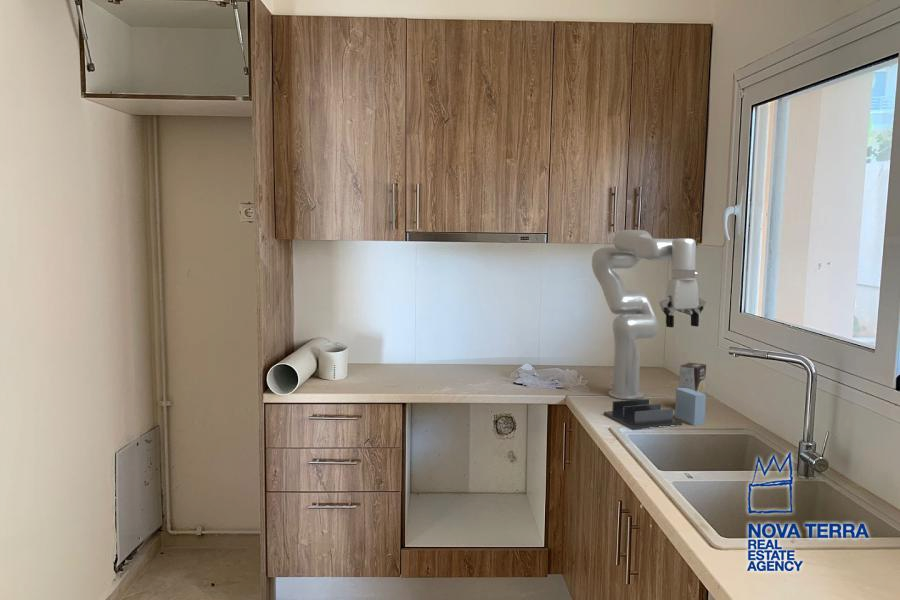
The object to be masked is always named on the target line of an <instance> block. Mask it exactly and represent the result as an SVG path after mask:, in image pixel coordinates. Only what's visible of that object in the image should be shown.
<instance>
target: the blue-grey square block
mask: <svg viewBox="0 0 900 600" xmlns="http://www.w3.org/2000/svg"><path fill="white" fill-rule="evenodd" d="M706 401H707V394H702V393H700V392H697V391H694V390H691V389H688V388H679V387H678V388H675V408H674V418H675V417H676V419H678V418H679V419H678V420H680V419H681V420H680V421H682V420H683V422H684V423H688V424H690V425H692V426H703V425H705V422H706V420H705V419H706V418H705V417H706V404H707V403H706Z"/></svg>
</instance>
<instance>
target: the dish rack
mask: <svg viewBox="0 0 900 600" xmlns="http://www.w3.org/2000/svg"><path fill="white" fill-rule="evenodd" d="M611 405H612V408H611V409H612V410H611V411H603V415H604V416H605V417H608V418H610V419H612V420H613V421H616V422H617V423H619V424H621V425H622V426H625V427H627V428H629V429H631V430H636V431H637V430H643V429H642V428H648V429H650V428H649V427H659V426H671V425H675V426H674V427H677V426H676V425H683V422H682V421H681V420H677V419H675V418H674V408H665V409H662V408H661V407H662V406H661V405H662V404H661V403H651V404H650V398H640V399H625V400H615V401H613V400H612V404H611ZM671 427H672V426H671ZM659 428H660V427H659Z"/></svg>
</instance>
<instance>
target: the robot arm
mask: <svg viewBox="0 0 900 600" xmlns="http://www.w3.org/2000/svg"><path fill="white" fill-rule="evenodd" d="M612 244H613V246H614V247H613V246H609V247H608V246H607V247H600V248H598V249H596V250H595V251H594V252H593V254H592V256H591V257H592V258H591V267H592V269H591V270H592V272H593V274H594V277H595V278H596V280H597V282H598V283H599V285H600V287H601V290H602V292H603V296H604V298H605V301H606V304H607V306H608V308H609V310H610V312H611V313H612V314H614V315H618V316H616V317H615V319H613V322H612V331H613V332H612V333H613V341H614V342H613V343H614V345H613V346H614V357H613V380H612V382H610V384H609V385H610V386H611V387H612V389H611V390H608V395H609V396H610V397H611V398H615V399H619V400H639V399H643V396H644V395H643V392H641V391H640V389H639V388H640V370H641V369H640V365H641V349H640V346H639V344H638V343H637V341H636V340H639V339H642V340H643V339H651V338H655V336H657V335H658V332H659V321H658V317H657V316H656V313H655V310H654V307H653V306H652V303H651V301H650V298H649V297H648V295H647V294H646V293H645V292H643V291H642V290H637V289H627V288H626V285H625V284H624V280H623V279H622V278H621V276H620V275H619V274H618V273H617V272H615V271H614V270H613V269H615V270H616V269H617V270H619V269H623V270H624V269H632V268H634V267H635V266H636V265H637V264H638V263H639V262H640V261H641V260H642V259H643V260H646V261H647V260H648V261H652V262H653V261H654V262H655V261H667V262H668V261H669V262H670V261H671V271H670V273H671V274H670V275H671V276H670V277H671V278H670V279H669V280H668V282H667V287H666V295H665V298H664V299H662V300H661V301H659V302H658V304H659V306H660V308H661V311H662V312H663V313H664V315H665V324H666V325H665V326H666V327H667V328H675V327H674V326H675V315H674V313H675V311H677V310H689V311H690V312H691V314H690V326H691V327H696V328H697V327H699V325H700V324H699V322H700V317H699V316H700V315H701V313H702V311H703V310H704V307H705V305H706V300H704V299H703V298H701V297H699V286H698V282H697V279H696V277H697V276H698V271H696V256H697V255H696V250H697V249H696V246H697V245H696V240H695V239H694V238H689V237H687V238H683V237H682V238H653V236H652V235H651V233H650V232H648V231H646V230H644V229H623V230H619V231H618V232H616V233H615V234H614V236H613V240H612Z"/></svg>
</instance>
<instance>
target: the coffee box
mask: <svg viewBox="0 0 900 600" xmlns="http://www.w3.org/2000/svg"><path fill="white" fill-rule="evenodd" d="M679 367H680V368H679V383H678V388H688V389H691V390H694V391H697V392H700V393H702V394H705V391H706V377H707V375H706V374H707V373H706V372H707V364H704V363H696V362H687V363H684V364H681V365H679ZM705 395H706V394H705Z"/></svg>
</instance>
